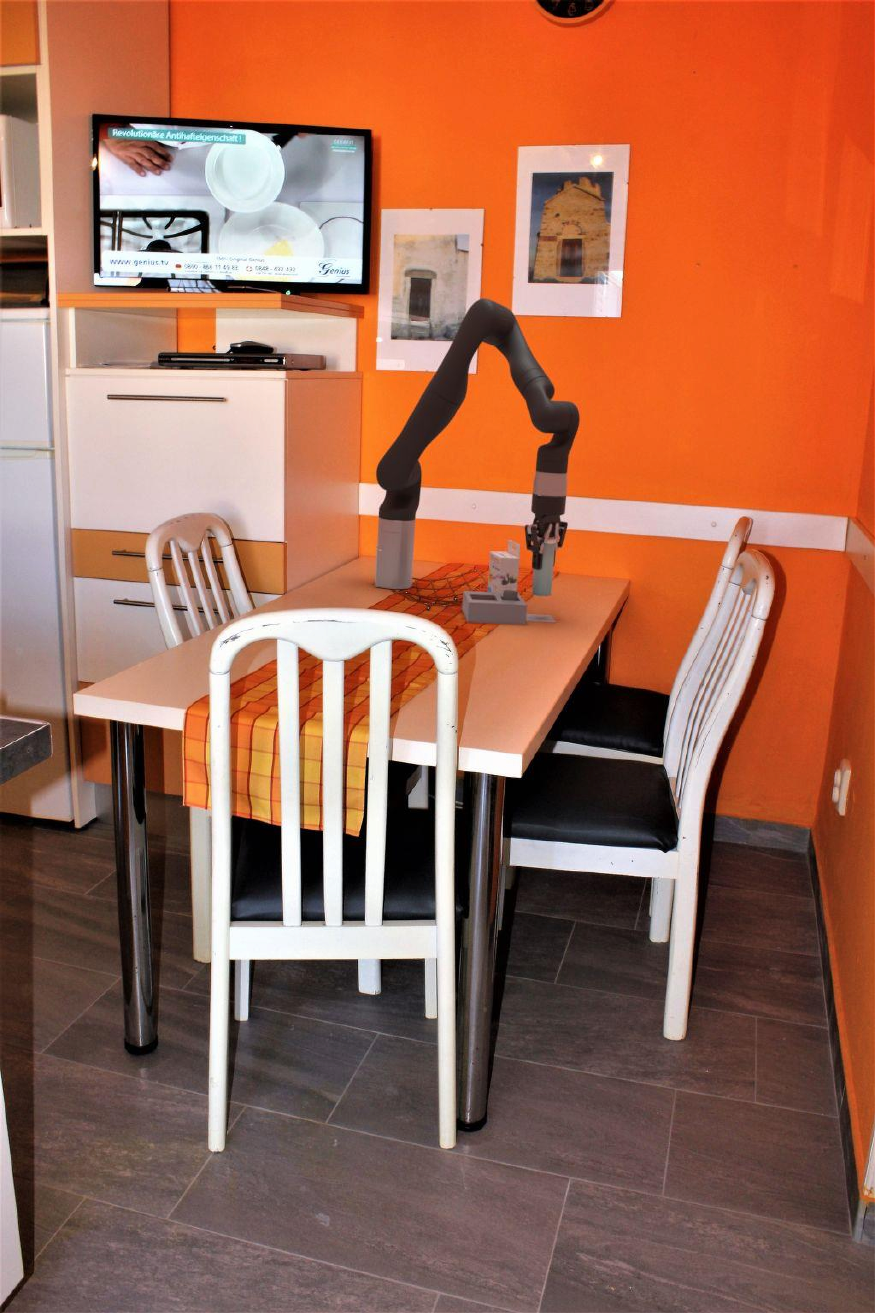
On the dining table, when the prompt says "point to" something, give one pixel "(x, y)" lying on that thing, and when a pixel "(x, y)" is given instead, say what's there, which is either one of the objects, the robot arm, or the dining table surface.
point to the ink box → (504, 569)
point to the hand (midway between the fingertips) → (542, 567)
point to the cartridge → (544, 570)
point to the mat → (539, 618)
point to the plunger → (510, 595)
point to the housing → (493, 608)
